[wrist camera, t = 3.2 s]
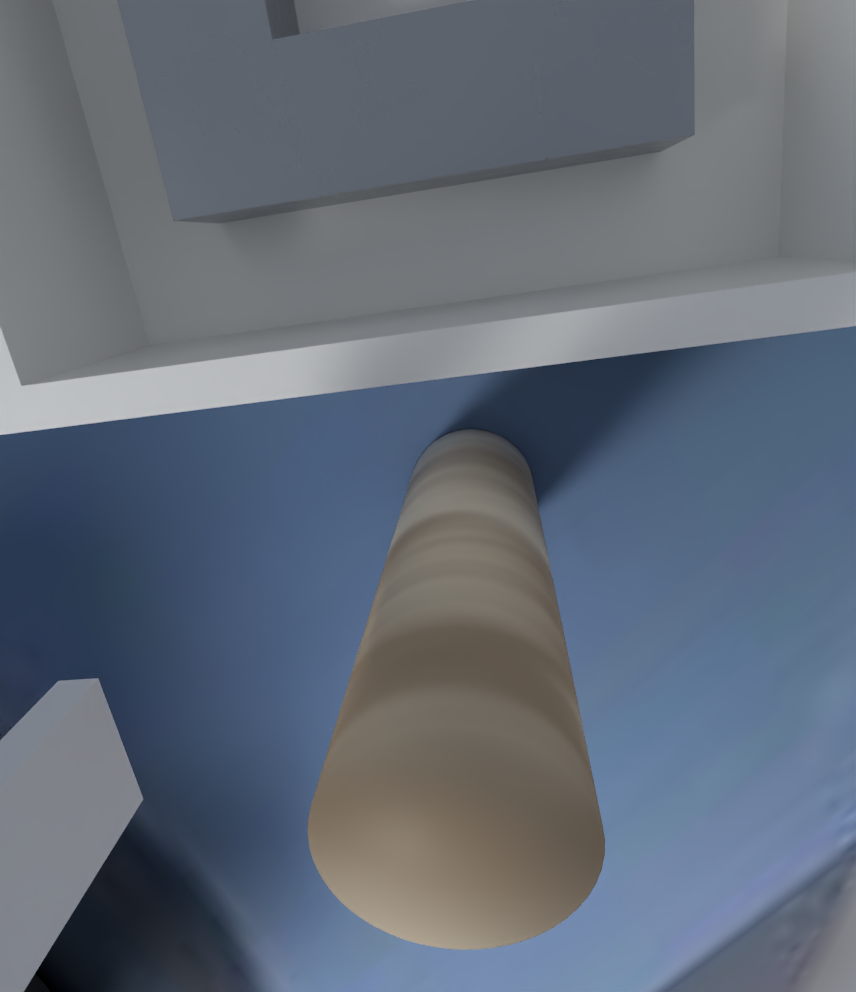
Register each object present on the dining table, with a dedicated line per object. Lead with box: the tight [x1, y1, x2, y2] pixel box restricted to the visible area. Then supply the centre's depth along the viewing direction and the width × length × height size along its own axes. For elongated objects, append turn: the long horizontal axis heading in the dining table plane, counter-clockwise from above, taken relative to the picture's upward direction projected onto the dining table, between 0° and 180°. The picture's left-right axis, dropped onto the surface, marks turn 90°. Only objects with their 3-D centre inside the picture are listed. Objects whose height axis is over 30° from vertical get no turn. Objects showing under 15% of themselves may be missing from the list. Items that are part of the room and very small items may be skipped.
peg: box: [308, 429, 605, 950], centre depth 16 cm, size 4×4×14 cm
